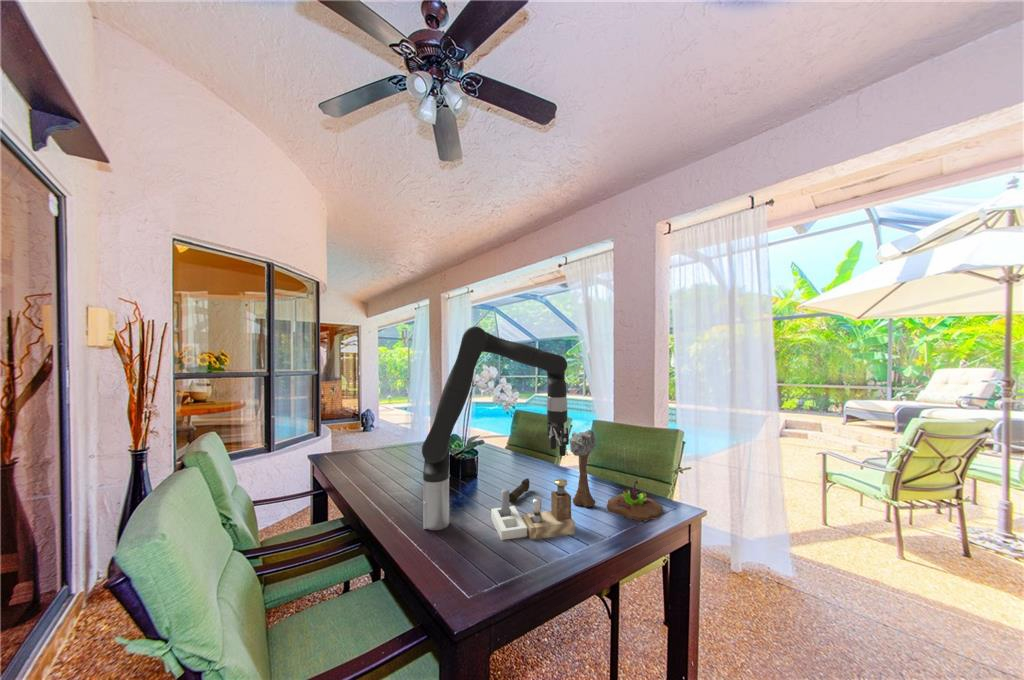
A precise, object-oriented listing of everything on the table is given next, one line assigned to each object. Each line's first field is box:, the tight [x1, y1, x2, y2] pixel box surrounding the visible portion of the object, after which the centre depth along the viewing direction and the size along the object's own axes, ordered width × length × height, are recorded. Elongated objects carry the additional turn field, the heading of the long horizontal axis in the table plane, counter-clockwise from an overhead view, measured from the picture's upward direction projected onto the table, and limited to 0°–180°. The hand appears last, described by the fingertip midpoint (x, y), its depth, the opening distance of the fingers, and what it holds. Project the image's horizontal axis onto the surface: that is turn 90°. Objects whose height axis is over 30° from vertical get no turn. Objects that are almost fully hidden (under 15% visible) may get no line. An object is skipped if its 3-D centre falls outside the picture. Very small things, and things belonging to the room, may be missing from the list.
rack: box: [490, 488, 528, 541], centre depth 131 cm, size 9×17×12 cm, turn 15°
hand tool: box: [509, 478, 530, 504], centre depth 159 cm, size 19×4×5 cm, turn 152°
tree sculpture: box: [569, 429, 597, 508], centre depth 151 cm, size 15×10×30 cm
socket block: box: [521, 489, 576, 541], centre depth 129 cm, size 16×10×13 cm, turn 105°
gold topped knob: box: [554, 478, 568, 496], centre depth 130 cm, size 4×4×7 cm
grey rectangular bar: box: [532, 497, 542, 523], centre depth 128 cm, size 3×3×12 cm
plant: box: [606, 480, 663, 522], centre depth 146 cm, size 20×20×11 cm
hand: (557, 452), depth 135 cm, fingers open, 8 cm apart
